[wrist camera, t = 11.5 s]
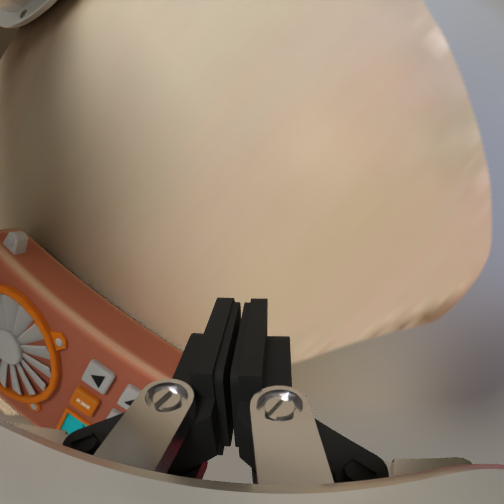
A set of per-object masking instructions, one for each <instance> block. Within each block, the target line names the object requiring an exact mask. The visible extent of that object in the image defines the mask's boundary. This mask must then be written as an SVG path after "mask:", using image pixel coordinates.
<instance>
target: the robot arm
mask: <svg viewBox="0 0 504 504" xmlns="http://www.w3.org/2000/svg"><path fill="white" fill-rule="evenodd" d="M56 1H57V0H0V26H1V27H5V28H17V27H21V26H23V25H25V24H27V23H29V22H31V21H33V20H34V19H36V18H37V17H39V16H40V15H41V14H43V13H44V12H45V11H46V10H48V9H49V8H50V7H51V6H52V5H53V4H54V3H55V2H56ZM291 380H292V378H291V355H290V337H283V336H267V299H251V302H250V303H245V304H244V308H243V313H242V318H241V306H240V302H235V301H234V298H217V300H216V303H215V305H214V308H213V311H212V313H211V316H210V318H209V321H208V324H207V326H206V329H205V332H204V334H199V333H193V334H191V336H190V338H189V340H188V343H187V345H186V347H185V350H184V352H183V354H182V356H181V359H180V361H179V363H178V366H177V368H176V370H175V373H174V375H173V377H172V379H160V380H157V381H154V382H152V383H150V384H148V385H147V386H146V387H145V388H144V389H143V390H142V391H141V392H140V393H139V395H138V396H137V397H136V399H135V400H134V401H133V403H132V404H131V405H130V407H129V408H128V409H127V411H126V412H124V413H121V414H118V415H116V416H113V417H111V418H108V419H105V420H103V421H100V422H97V423H94V424H92V425H89V426H86V427H83V428H80V429H78V430H76V431H74V432H72V433H71V434H68V433H67V431H66V430H58V429H50V428H44V427H37V426H31V425H26V424H20V423H12V424H9V423H7V422H5V421H2V420H0V504H504V465H502V464H472V463H471V462H470V461H468V460H466V459H464V458H458V457H451V458H421V459H407V458H394V459H393V461H392V462H385V461H383V460H382V459H381V458H379V457H378V456H377V455H375V454H373V453H371V452H369V451H368V450H366V449H364V448H363V447H361V446H359V445H358V444H356V443H354V442H352V441H350V440H349V439H347V438H346V437H344V436H342V435H341V434H339V433H337V432H336V431H334V430H332V429H331V428H329V427H327V426H326V425H324V424H323V423H321V422H319V421H318V420H316V419H314V416H313V413H312V409H311V406H310V403H309V401H308V399H307V397H306V395H304V394H303V393H302V392H301V391H299V390H297V389H295V388H293V387H292V381H291ZM233 429H234V436H235V446H236V447H239V455H240V458H241V459H242V460H244V461H245V462H246V463H247V464H248V465H250V467H251V468H252V478H253V484H242V483H229V482H219V481H210V480H202V478H203V476H204V473H205V471H206V469H207V464H208V462H207V461H208V460H209V459H211V458H213V457H215V456H217V455H223V450H224V446H230V445H231V441H232V435H233Z"/></svg>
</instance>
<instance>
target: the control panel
mask: <svg viewBox="0 0 504 504" xmlns="http://www.w3.org/2000/svg"><path fill="white" fill-rule="evenodd" d="M182 354H183V352H182V351H180V350H179V349H177V348H176V347H174V346H172V345H171V344H169V343H168V342H166V341H165V340H163V339H162V338H160V337H159V336H157V335H156V334H154V333H153V332H151V331H150V330H148V329H147V328H145V327H144V326H142V325H141V324H139V323H138V322H136V321H135V320H134V319H132V318H131V317H129V316H128V315H127V314H125V313H124V312H122V311H121V310H120V309H118V308H117V307H115V306H114V305H113V304H111V303H110V302H109V301H107V300H106V299H105V298H103V297H102V296H101V295H99V294H98V293H97V292H95V291H94V290H93V289H92V288H90V287H89V286H88V285H86V284H85V283H84V282H83V281H81V280H80V279H79V278H78V277H76V276H75V275H74V274H73V273H71V272H70V271H69V270H68V269H67V268H65V267H64V266H63V265H62V264H61V263H59V262H58V261H57V260H56V259H55V258H53V257H52V256H51V255H50V254H49V253H48V252H46V251H45V250H44V249H43V248H42V247H41V246H40V245H39V244H37V243H36V242H35V241H34V240H33V239H32V238H31V237H30V236H29V235H28V234H26V233H25V232H24V231H23V230H22V229H21V228H14V229H5V230H0V397H1V398H2V399H3V400H4V401H5V402H6V403H7V404H9V405H10V406H11V407H12V408H13V409H14V410H16V411H17V412H18V413H19V414H20V415H22V416H23V417H24V418H25V419H27V420H28V421H29V422H30V423H32V424H33V425H34V426H37V427H44V428H50V429H58V430H66V431H67V433H68V434H71V433H72V432H74V431H76V430H78V429H80V428H83V427H86V426H89V425H92V424H94V423H97V422H100V421H103V420H105V419H108V418H111V417H113V416H116V415H118V414H121V413H124V412H126V411H127V409H128V408H129V407H130V405H131V404H132V403H133V401H134V400H135V399H136V397H137V396H138V395H139V393H140V392H141V391H142V390H143V389H144V388H145V387H146V386H147V385H148V384H150V383H152V382H154V381H157V380H160V379H172V377H173V375H174V373H175V370H176V368H177V366H178V363H179V361H180V359H181V356H182Z"/></svg>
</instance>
